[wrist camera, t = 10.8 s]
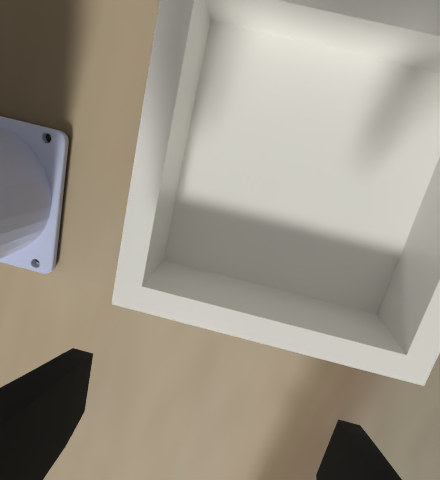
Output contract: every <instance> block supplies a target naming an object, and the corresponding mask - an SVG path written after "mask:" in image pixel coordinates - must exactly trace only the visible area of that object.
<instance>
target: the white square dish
mask: <svg viewBox="0 0 440 480" xmlns="http://www.w3.org/2000/svg"><path fill="white" fill-rule="evenodd" d="M112 304H113V305H117V306H121V307H125V308H129V309H132V310H136V311H140V312H144V313H148V314H151V315H155V316H159V317H163V318H167V319H171V320H174V321H178V322H182V323H186V324H190V325H193V326H197V327H201V328H205V329H209V330H213V331H216V332H220V333H224V334H228V335H232V336H235V337H239V338H243V339H247V340H251V341H254V342H258V343H262V344H266V345H270V346H274V347H277V348H281V349H285V350H289V351H293V352H296V353H300V354H304V355H308V356H312V357H316V358H319V359H323V360H327V361H331V362H335V363H338V364H342V365H346V366H350V367H354V368H358V369H361V370H365V371H369V372H373V373H377V374H380V375H384V376H388V377H392V378H396V379H399V380H403V381H407V382H411V383H415V384H419V385H422V386H424V385H425V382H426V380H427V378H428V376H429V374H430V372H431V370H432V368H433V365H434V363H435V361H436V359H437V357H438V355H439V353H440V0H160V1H159V8H158V14H157V20H156V27H155V33H154V39H153V46H152V52H151V58H150V64H149V71H148V77H147V83H146V90H145V96H144V102H143V109H142V115H141V121H140V127H139V134H138V140H137V146H136V153H135V159H134V165H133V172H132V178H131V184H130V191H129V197H128V203H127V209H126V216H125V222H124V228H123V235H122V241H121V247H120V254H119V260H118V266H117V272H116V279H115V285H114V291H113V298H112Z"/></svg>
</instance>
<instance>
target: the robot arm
mask: <svg viewBox="0 0 440 480" xmlns="http://www.w3.org/2000/svg"><path fill="white" fill-rule="evenodd" d="M48 133H49V134H50V136H51V142H50V143H49V142H48V141H47V140H46V136H47V134H48ZM68 144H69V141H68V137H67V135H66V134H65V133H64V132H62V131H60V130H56V129H52V128H48V127H43V126H39V125H35V124H31V123H27V122H23V121H19V120H15V119H11V118H7V117H3V116H0V262H2V263H6V264H10V265H14V266H17V267H21V268H25V269H29V270H33V271H37V272H40V273H46V274H47V273H50V272H51V271H53V270H54V269H55V266H56V258H57V248H58V239H59V229H60V220H61V210H62V201H63V191H64V182H65V173H66V163H67V154H68ZM35 259H37V260H38V261H39V262H40V265H37V264H36V262H35ZM92 357H93V353H89V352H85V351H81V350H78V349H74V348H73V349H71V350H69V351H67V352H65V353H63V354H61V355H60V356H58V357H56V358H54V359H52V360H51V361H49V362H47V363H45V364H43V365H42V366H40V367H38V368H36V369H34V370H33V371H31V372H29V373H27V374H25V375H23V376H22V377H20V378H18V379H16V380H14V381H12V382H10V383H8V384H7V385H5V386H3V387H1V388H0V480H43V479H44V477H45V476H46V474H47V473H48V471H49V470H50V468H51V467H52V465H53V464H54V462H55V461H56V460H57V458H58V457H59V455H60V454H61V452H62V451H63V449H64V448H65V446H66V444H67V443H68V441H69V439H70V437H71V435H72V434H73V432H74V430H75V428H76V426H77V424H78V422H79V420H80V419H81V417H82V415H83V413H84V411H85V404H86V398H87V391H88V384H89V378H90V371H91V364H92ZM316 477H317V480H402V479H401V478H400V477H399V475H398V474H397V473H396V471H395V470H394V469H393V468H392V466H391V465H390V464H389V462H388V461H387V460H386V458H385V457H384V456H383V454H382V453H381V452H380V450H379V449H378V448H377V446H376V445H375V444H374V442H373V441H372V440H371V439H370V437H369V436H368V435H367V433H366V432H365V431H364V430H363V429H362V427H361V426H360V425H357V424H353V423H349V422H345V421H342V420H338V422H337V424H336V427H335V429H334V432H333V434H332V437H331V439H330V442H329V444H328V447H327V449H326V452H325V454H324V457H323V459H322V462H321V464H320V467H319V470H318V472H317V475H316Z"/></svg>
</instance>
